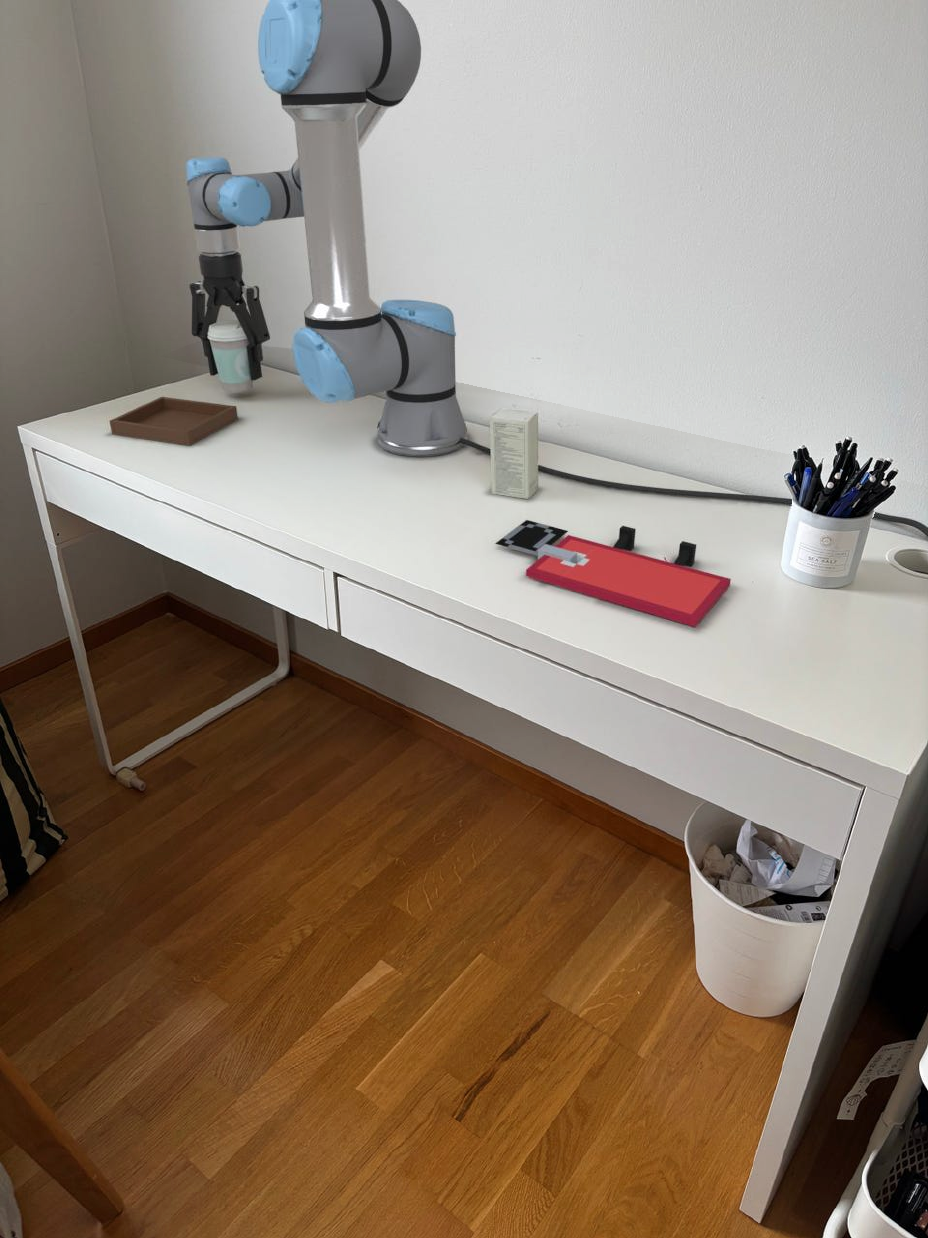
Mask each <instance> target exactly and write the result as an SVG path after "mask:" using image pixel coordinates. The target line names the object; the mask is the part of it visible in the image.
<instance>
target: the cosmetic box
mask: <svg viewBox="0 0 928 1238" xmlns="http://www.w3.org/2000/svg"><path fill="white" fill-rule="evenodd" d="M489 437H490V438H489V439H490V440H489V441H490V442H489V444H490V449H491V455H490V477H491V478H490V479H491V480H490V481H491V484H490V485H491V494H493V495H500V496H505V497H506V496H507V497H512V498H517V499H525V500H526V499H527V500H528V499H530V498H531V497H532V496H533V495H534V494H535V493H536V491H538V489H539V471H538V465H539V412H538V411H531V410H530V411H529V410H521V409H512V408H511V409H510V408H499V409H497V410H496V411H495V412H494V413H492V414H491V415H490V416H489Z"/></svg>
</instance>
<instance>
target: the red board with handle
mask: <svg viewBox="0 0 928 1238" xmlns="http://www.w3.org/2000/svg"><path fill="white" fill-rule="evenodd" d="M568 532H569V530H567V529H562V528H558V527H555V526H551V525H547V524H544V523H540V522H536V521H533V520H528V519H525V520H524V521H522V523H521V524H519V525H518V526H516V527H515V528H514V529H512V530H511V531H510V532H508V533H507V534H506V535H504V536H503V537H502V538H500V539H499V540H498V541H496V542H495V543H494V544H495V545H497V546H502V547H505V548H507V549H511V550H515V551H519V552H522V553H526V554H529V555H532V556H536V557H537V560H536V561H535V562H533V563H532V564H531V565H530V566H528V567H527V568H526V569H525V577H527V578H531V579H533V580H536V581H541V582H544V583H547V584H550V585H554V586H557V587H561V588H564V589H567V590H571V591H573V592H576V593H579V594H580V593H581V594H584V595H587V596H591V597H593V598H596V599H600V600H604V601H606V602H611V603H613V604H617V605H620V606H624V607H627V608H630V609H634V610H637V611H641V612H643V613H647V614H651V615H654V616H657V617H660V618H663V619H667V620H670V621H673V622H677V623H680V624H683V625H686V626H690V627H694V628H696V627H698V625H699V623H701V621H702V620H703V619H704V618H705V616H706V615H707V614H708V613H709V611H710V610H711V609H712V608H713V606H715V604H716V603H717V602H718V601H719V599H720V598H721V597H722V596H723V595H724V593H726V591H727V590H728V589H729V587H730V586H731V582H732V581H731V580H732V578H729V577H725V576H722V575H717V574H714V573H710V572H708V571H707V572H706V571H703V570H700V569H695V568H692V567H693V566H694V565H695V558H696V553H697V552H696V551H697V544H696V543H692V542H688V541H684V540H682V541H681V542H680V543H679V549H678V555H677V557H676V559H675V561H674V562H669V561H666V560H661V559H658V558H656V557H652V556H647V555H644V554H640V553H637V552H633V551H632V550H633V549H634V548H635V540H636V528H634V527H630V526H626V525H621V526H620V527H619V531H618V539H617V540H616V542H615V543H614V545H613V546H611V545H607V544H603V543H599V542H596V541H592V540H588V539H584V538H581V537H577V536H573V535H570V534H567V533H568ZM566 534H567V535H566ZM565 535H566V536H565ZM563 536H565V537H563ZM562 537H563V538H562ZM561 538H562V539H561ZM559 539H561V540H560V541H559V542H558V543H557V544H555V545H554V546H553V544H554V543H556V542H557V541H558V540H559Z"/></svg>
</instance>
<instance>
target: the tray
mask: <svg viewBox="0 0 928 1238" xmlns="http://www.w3.org/2000/svg"><path fill="white" fill-rule="evenodd" d="M237 409H238V408H237V405H229V404H223V403H222V404H221V403H214V402H205V401H200V400H199V401H198V400H190V399H183V398H176V397H175V398H174V397H168V396H160V397H157V398H156V399H154V400H151V401H150V402H149V401H148V402H147V403H145V404H143V405H140V406H138V407H136V408H134V409H132V410H130V411H127V412H125V413H123V414H120V415H119V416H117V417H114V418H113V419H111V420H109V425H110V430H111V435H115V436H121V437H127V438H134V439H142V440H146V441H147V440H148V441H155V442H162V443H167V444H168V443H169V444H175V445H182V446H188V447H191V446H192V445H194V444H196V443H197V442H199V441H201V440H203V439H205V438H207V437H208V436H209V437H210V435H212V434H214V433H215V432H218V431H219V430H221V429H223V428H225V427H227V426H229V425H230V424H232V423H234V422H237V421H238V420H239V417H238V410H237Z"/></svg>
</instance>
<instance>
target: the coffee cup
mask: <svg viewBox="0 0 928 1238" xmlns="http://www.w3.org/2000/svg"><path fill="white" fill-rule="evenodd" d="M207 338H208V339H209V340H210V343H211V347H212V351H213V355H214V359H215V363H216V366H217V370H218V374H217V375H218V378H219V382H220V385H221V389H222V391H224V392H226V393H244V392H247V391H249V390H252V389H253V387H254V381H253V380H251V377H250V369H249V361H248V353H247V346H248V345H249V344H250V342H249V340H248V339H247V337H246V335H245V333H244V331H243V329H242V327H241V325H240V323H239V321H238V320H224V321H217V322H216V323H214V324H211V325H210V326H209V331H208V337H207Z"/></svg>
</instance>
